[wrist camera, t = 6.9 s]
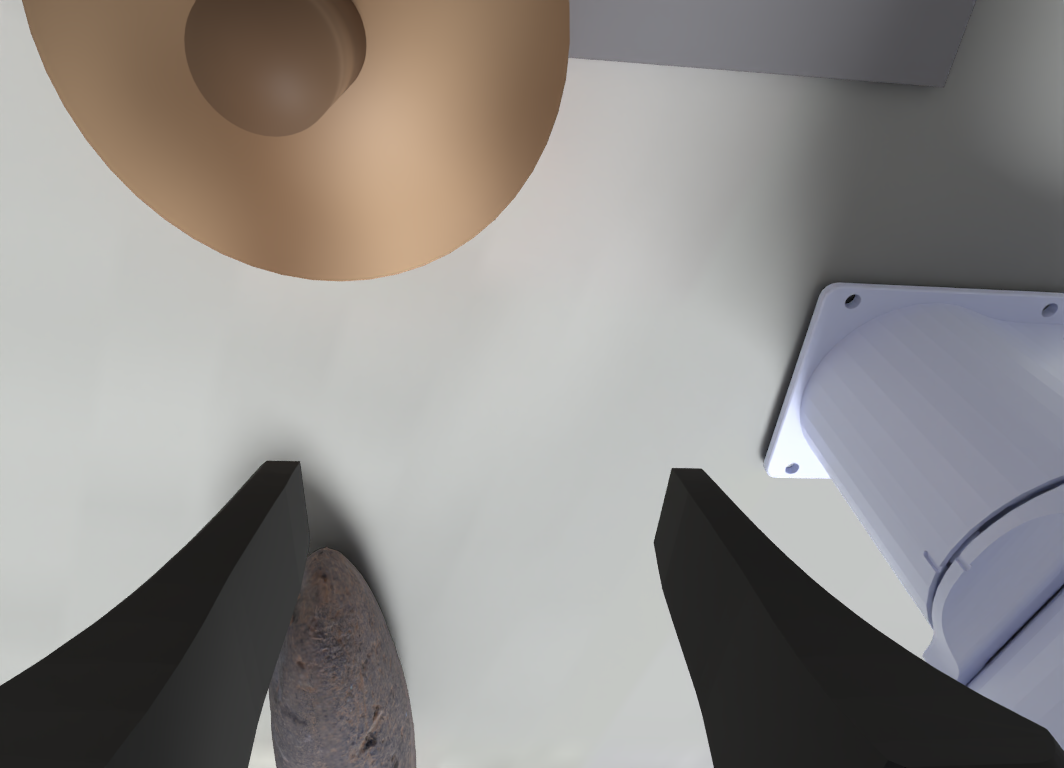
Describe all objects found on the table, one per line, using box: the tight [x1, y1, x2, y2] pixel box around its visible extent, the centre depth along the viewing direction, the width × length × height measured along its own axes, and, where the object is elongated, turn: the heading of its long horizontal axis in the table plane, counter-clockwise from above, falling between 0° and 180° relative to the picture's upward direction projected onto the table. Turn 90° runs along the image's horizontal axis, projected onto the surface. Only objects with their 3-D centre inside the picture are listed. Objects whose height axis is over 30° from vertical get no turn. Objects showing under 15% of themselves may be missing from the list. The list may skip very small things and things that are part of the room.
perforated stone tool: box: [269, 546, 416, 768], centre depth 27 cm, size 15×5×7 cm, turn 178°
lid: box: [22, 0, 570, 281], centre depth 13 cm, size 11×11×4 cm
